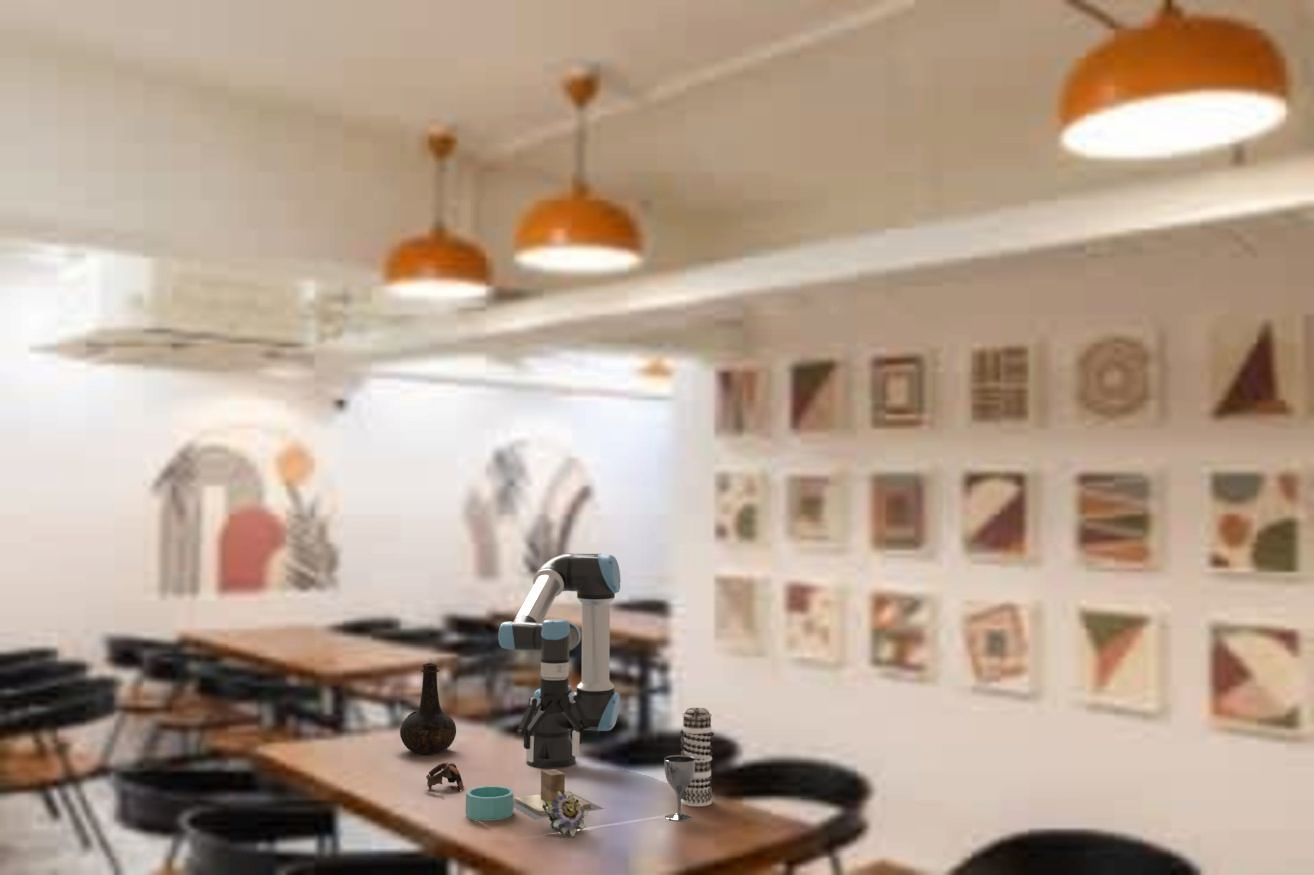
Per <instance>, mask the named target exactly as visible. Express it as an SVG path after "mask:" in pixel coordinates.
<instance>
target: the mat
mask: <svg viewBox="0 0 1314 875" xmlns="http://www.w3.org/2000/svg"><path fill="white" fill-rule="evenodd" d="M566 792H568V793H570V794H573V795H574V796H576V797H578V798H580V799H582V800H584V801H586V802H588V803H590V804H591V808H584V810H585V811H588V812H591V811H598V810H603V809H604V808H603V807H601V806H599V805H598V804H595V803H593V802H592V801H589V800H587V799H585V798H584V797H581V796H579V795H577V794H575V793H572V792H571V791H566ZM514 808H515V809H516V810H518V811H519V812H521V813H523V814H524V815H527V816H529V817H530V818H532V819H533V820H538V819H545V818H549V816H548V814H544V815H538V814H536V813H534V812H533V811H531V810H529V809H527V808H525V807H524V806H522V805H520V804H518V803H516V802H515V798H514ZM550 816H551V815H550Z"/></svg>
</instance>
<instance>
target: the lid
mask: <svg viewBox="0 0 1314 875" xmlns="http://www.w3.org/2000/svg"><path fill="white" fill-rule="evenodd" d="M540 774H541V775H540V793H539V794H533V795H525V796H518V797H514V799H515V802H516V803H518V804H520V805H522V806H524V807H525V808H527V809H529V810H531V811H533V812H534V813H536V814H538V815H544V814H547V813H545V810H544V809H543V807H542V806H543V804H544V805H546V803H545V802H546V801H548V802H552V801H553V800H555V799H556V798H557V791H560V792H561V794H562V795H563V796H564V795H566V797H567V798H568V797H569V796H570V795H571V794H570V793H568V792H567V791H566V789H565V788H566V786H565V785H566V779H565V778H566V774H565V773H564V772H562V771H560V770H558V769H557V768H556V769H555V768H551V769H544V770H543V769H542V770H541V771H540ZM574 798H575V800H577V799H578V801H579V802H578V803H583V809H584V808H591V804H590V803H588V802H586V801H584V800H582V799H580V798H578V797H576V796H574ZM575 800H574V801H575ZM552 804H553V802H552V803H551V804H549V807H552ZM546 809H548V807H546Z"/></svg>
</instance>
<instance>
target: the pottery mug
mask: <svg viewBox="0 0 1314 875" xmlns="http://www.w3.org/2000/svg"><path fill="white" fill-rule="evenodd" d="M425 778H426V780H427V784H426V785H427V787H428V789H430V788H431V789H432V787H433V786H436V785H437V784H438V785H443V778H445V779H447V783H449V784H451V783H452V784H455V782H456V786H457V785H458V786H457V787H459V791H460V790H462V791H463V790H464V787H465V786H464V783H463V778H462V776H461V774H460V772H459V770H458V767H457V765H456V764H455V763H453V762H450V763H449V762H443V763H439V764H438V765H436V766H435V767H433V768H432V769H431V770H429V772H428V774H427V775H426V776H425Z"/></svg>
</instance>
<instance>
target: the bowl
mask: <svg viewBox="0 0 1314 875" xmlns="http://www.w3.org/2000/svg"><path fill="white" fill-rule="evenodd" d="M514 799H515V790H513V789H512V788H511V787H507V786H506V787H505V786H500V785H488V786H487V785H485V786H476V787H473V788H471V789H470V788H469V789H468V790H467V791H466V794H465V817H466V819H468V818H469V819H470V820H469V819H468V820H469V821H472V820H477V821H481V822H480V823H483V821H499V820H504V819H508V818H510V817H512V816H513V815H514ZM477 821H476V822H477Z"/></svg>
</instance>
